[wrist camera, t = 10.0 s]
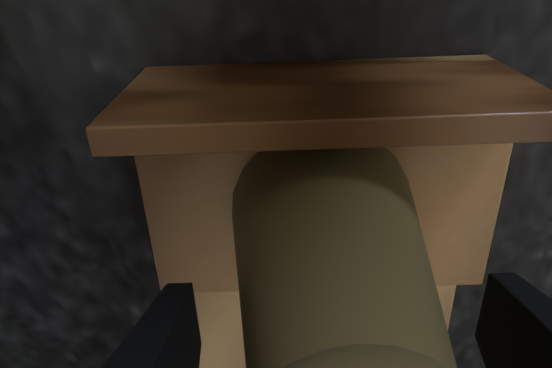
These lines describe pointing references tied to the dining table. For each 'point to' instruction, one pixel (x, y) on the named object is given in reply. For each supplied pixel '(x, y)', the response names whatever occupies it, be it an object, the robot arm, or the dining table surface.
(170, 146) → the wooden stepped pedestal
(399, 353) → the olive peg figure
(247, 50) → the dining table surface
